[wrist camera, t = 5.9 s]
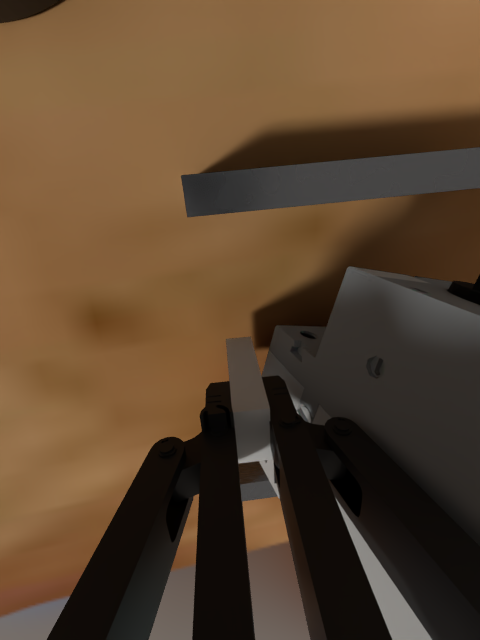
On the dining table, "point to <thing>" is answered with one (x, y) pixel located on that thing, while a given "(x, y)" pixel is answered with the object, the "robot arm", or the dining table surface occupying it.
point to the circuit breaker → (396, 394)
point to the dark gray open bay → (319, 188)
